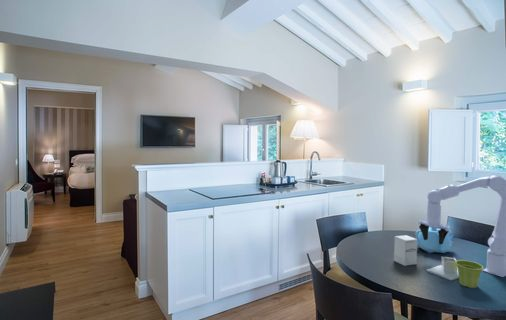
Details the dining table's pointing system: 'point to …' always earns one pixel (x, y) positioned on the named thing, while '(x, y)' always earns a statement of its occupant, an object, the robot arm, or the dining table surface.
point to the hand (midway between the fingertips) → (433, 241)
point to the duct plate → (443, 273)
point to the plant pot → (469, 273)
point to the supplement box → (405, 250)
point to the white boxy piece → (448, 265)
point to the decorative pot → (434, 241)
